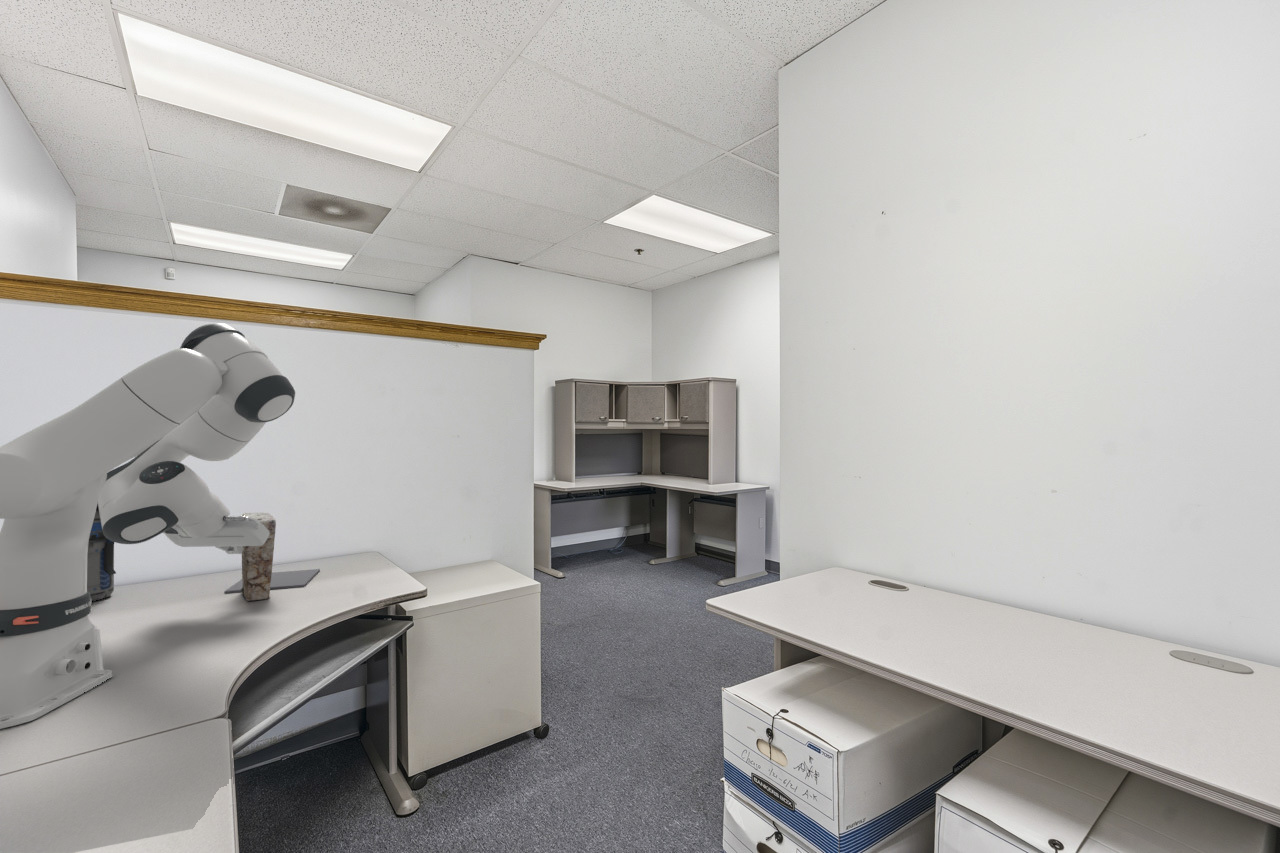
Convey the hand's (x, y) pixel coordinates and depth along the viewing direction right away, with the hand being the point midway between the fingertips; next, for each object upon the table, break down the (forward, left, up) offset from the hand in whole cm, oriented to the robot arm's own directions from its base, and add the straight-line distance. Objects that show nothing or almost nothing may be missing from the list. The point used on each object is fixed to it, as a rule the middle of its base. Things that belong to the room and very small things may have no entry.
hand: (236, 551), depth 132 cm
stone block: (+7, -2, -12) cm, 14 cm away
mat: (+21, -3, -13) cm, 24 cm away
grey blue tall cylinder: (+17, +36, -13) cm, 42 cm away
